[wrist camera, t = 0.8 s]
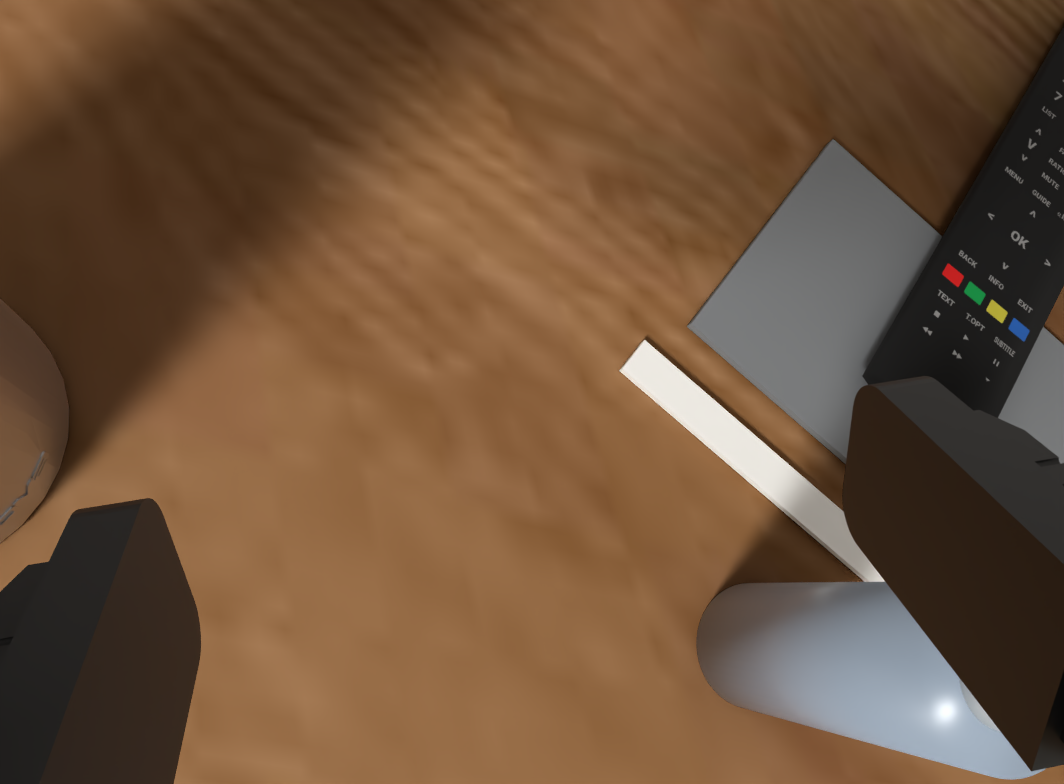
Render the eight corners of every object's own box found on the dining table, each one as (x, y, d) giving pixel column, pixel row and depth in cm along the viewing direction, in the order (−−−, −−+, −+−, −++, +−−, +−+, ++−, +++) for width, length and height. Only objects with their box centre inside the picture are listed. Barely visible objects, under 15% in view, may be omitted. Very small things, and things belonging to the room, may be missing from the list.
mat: (686, 326, 34) (691, 323, 33) (827, 143, 37) (832, 139, 37) (1027, 622, 35) (1035, 622, 34) (1133, 416, 38) (1142, 415, 38)
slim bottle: (673, 657, 31) (951, 709, 18) (739, 558, 32) (1042, 538, 19) (766, 735, 31) (1110, 845, 18) (828, 633, 32) (1188, 665, 19)
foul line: (619, 370, 33) (622, 368, 32) (641, 342, 33) (644, 339, 33) (1011, 707, 34) (1017, 708, 33) (1027, 675, 34) (1033, 675, 34)
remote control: (851, 380, 34) (873, 371, 33) (1067, 9, 42) (1091, -10, 41) (953, 461, 35) (978, 456, 33) (1147, 78, 43) (1174, 62, 42)
